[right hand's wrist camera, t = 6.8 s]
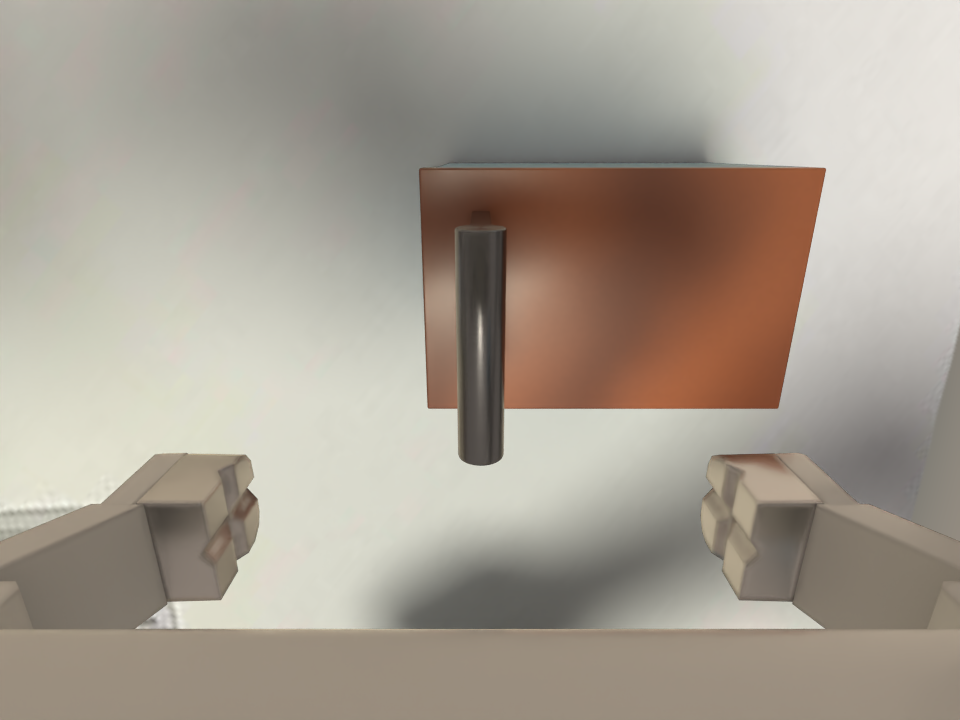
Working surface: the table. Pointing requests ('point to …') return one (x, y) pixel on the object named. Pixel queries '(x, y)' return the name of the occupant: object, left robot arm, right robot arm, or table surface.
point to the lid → (609, 289)
